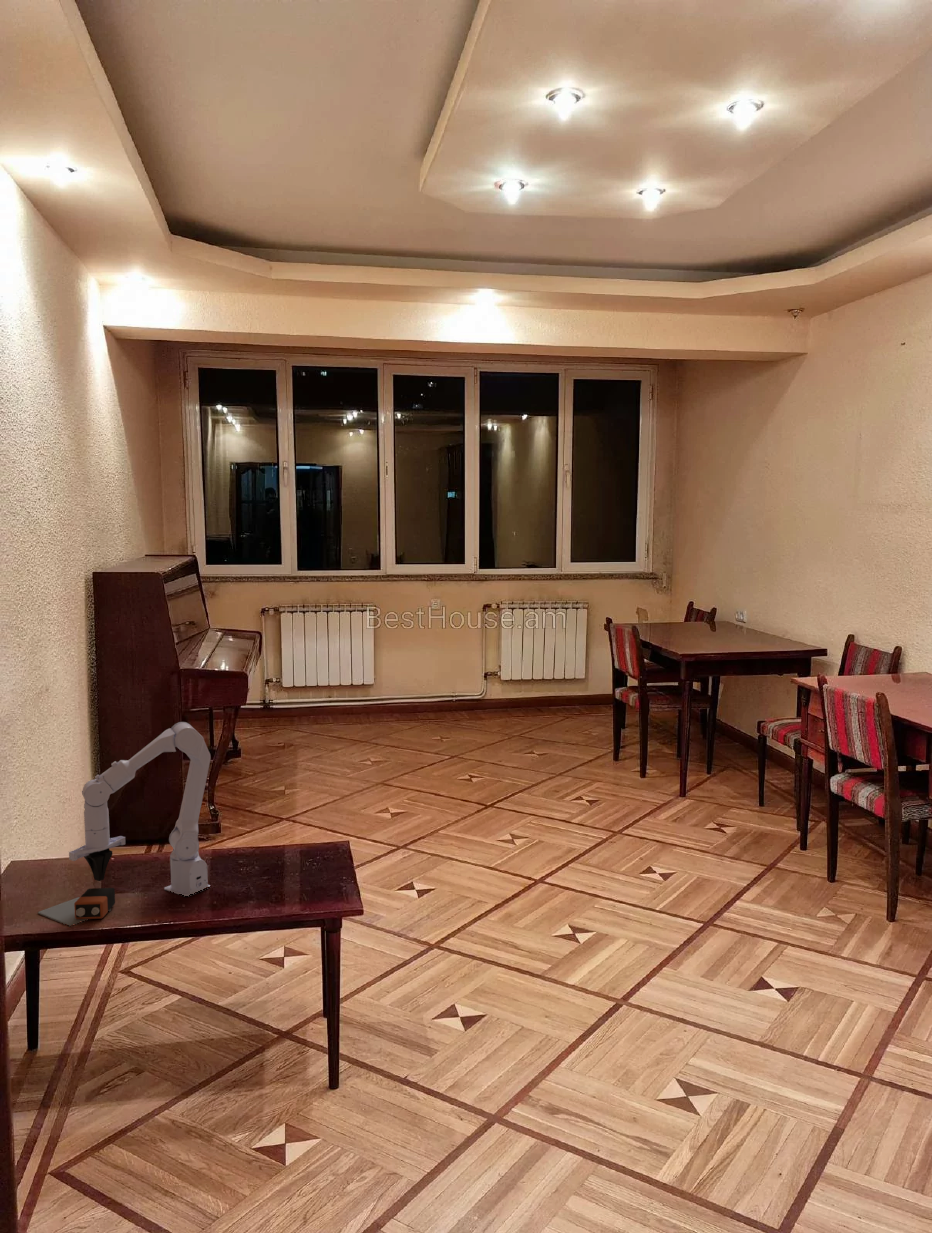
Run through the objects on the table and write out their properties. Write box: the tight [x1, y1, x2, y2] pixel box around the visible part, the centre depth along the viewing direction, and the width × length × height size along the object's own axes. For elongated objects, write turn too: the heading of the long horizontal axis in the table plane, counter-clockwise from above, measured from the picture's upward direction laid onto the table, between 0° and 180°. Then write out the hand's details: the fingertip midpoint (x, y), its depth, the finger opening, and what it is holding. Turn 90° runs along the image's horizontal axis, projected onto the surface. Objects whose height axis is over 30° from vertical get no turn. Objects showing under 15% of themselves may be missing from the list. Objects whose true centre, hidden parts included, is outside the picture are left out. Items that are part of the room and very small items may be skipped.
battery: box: [74, 887, 116, 920], centre depth 214 cm, size 4×7×10 cm
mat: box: [37, 896, 112, 927], centre depth 216 cm, size 14×11×1 cm
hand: (99, 879), depth 220 cm, fingers closed
